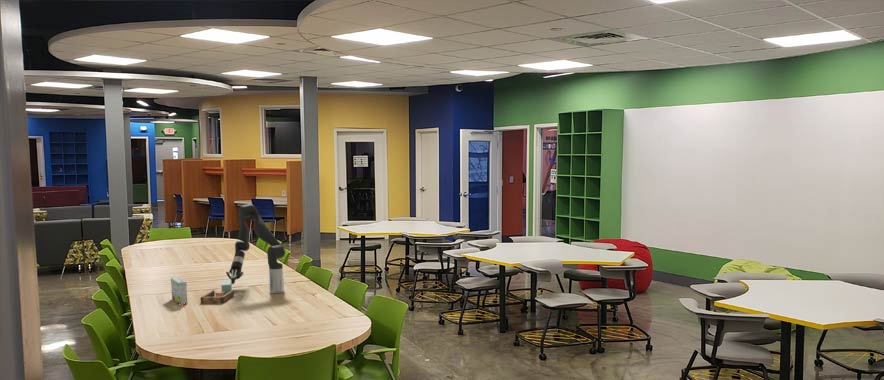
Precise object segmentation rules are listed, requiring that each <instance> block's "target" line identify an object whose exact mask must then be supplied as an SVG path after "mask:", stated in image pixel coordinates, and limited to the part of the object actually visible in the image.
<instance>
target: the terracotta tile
mask: <svg viewBox="0 0 884 380" xmlns="http://www.w3.org/2000/svg"><path fill="white" fill-rule="evenodd" d="M225 294H226V293H225V291H222V290H218V291H217V292H215V296H214V297H222V296H224V295H225Z"/></svg>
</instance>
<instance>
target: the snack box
mask: <svg viewBox="0 0 884 380" xmlns="http://www.w3.org/2000/svg"><path fill="white" fill-rule="evenodd" d="M170 284H171V286H170V287H171V299H172V300H173V301H174V300H175V301H176V302H177V304H178V303H179V304H183V305H185V304H184V303H187V304H188V290H187V281H185V280H184V279H183V278H181V277H180V276H173V277H171V278H170ZM175 301H174V302H175ZM176 302H175V303H176ZM179 304H178V305H179Z"/></svg>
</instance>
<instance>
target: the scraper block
mask: <svg viewBox="0 0 884 380" xmlns="http://www.w3.org/2000/svg"><path fill="white" fill-rule="evenodd" d="M220 285H221V291H225V293H226V294H227V293H228V292H230V291H231V290H233V286H232V285H233V284H232V281H231V280H223V281H222V283H221V284H220Z"/></svg>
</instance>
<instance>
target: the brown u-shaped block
mask: <svg viewBox="0 0 884 380" xmlns="http://www.w3.org/2000/svg"><path fill="white" fill-rule="evenodd" d="M215 293H216V292H215V289H214V290H213V289H212V290H210V291H209V292H207V293H206V294H204V295H202V296H201V297H200V304H225V303H226V302H227V301H229V300H231V299H232V298H233V297H235V290H233V289H232V290H231V291H230V292H228V293H227V294H225V295H224V296H222V297H216V296H215Z"/></svg>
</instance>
